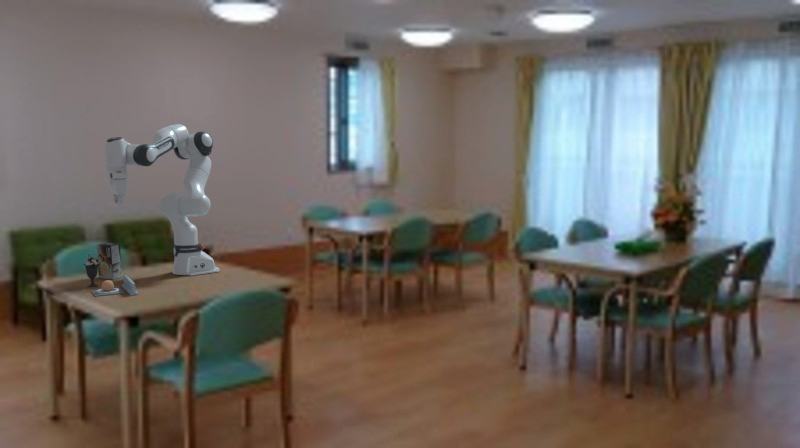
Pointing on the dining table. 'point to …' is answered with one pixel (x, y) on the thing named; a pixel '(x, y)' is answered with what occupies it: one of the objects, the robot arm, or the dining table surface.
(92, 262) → the sundae
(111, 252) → the coffee box
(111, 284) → the ball
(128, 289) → the low wall
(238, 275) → the dining table surface
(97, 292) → the mat
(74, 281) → the dining table surface
